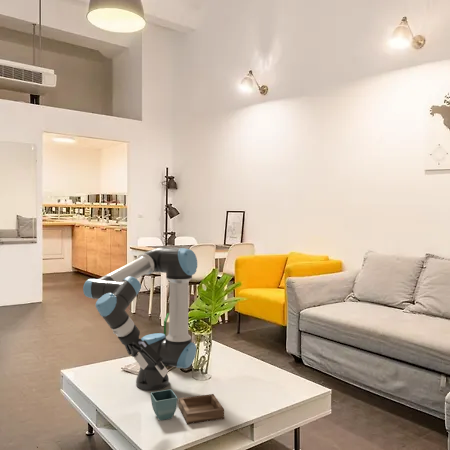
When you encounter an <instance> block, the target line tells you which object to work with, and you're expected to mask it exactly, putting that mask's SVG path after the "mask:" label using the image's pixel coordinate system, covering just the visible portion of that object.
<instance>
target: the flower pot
mask: <svg viewBox="0 0 450 450" xmlns="http://www.w3.org/2000/svg"><path fill="white" fill-rule="evenodd" d="M150 400H151V406H152V410H153V413H154V414H155V416H156V418H157V419H158V421H164V420H169V419H172V418H173V417H174V415H175V413H176V410H177V404H178V396H177V395H176V394H175V392H174V391H173V389H165V390H164V389H163V390H158V391H151V392H150Z"/></svg>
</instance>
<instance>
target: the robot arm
mask: <svg viewBox="0 0 450 450" xmlns="http://www.w3.org/2000/svg"><path fill="white" fill-rule="evenodd" d="M197 269H198V259H197V256H196V253H195V252H194V251H193V250H192V249H190V248H184V247H167V246H161V247H156V248H153V249H150V250H148V251H145V252H143V253H141V254H139V255H138V256H137V258H136V259H135V260H133V261H130V262H129V263H127V264H125V265H123V266H120V267H119V268H117V269H115V270H114V271H111V272H110V273H107V274H105V275H103V276H102V277H100V278H88V279H87V280H86V281H85V282H84V284H83V288H82V291H83V295H84V296H85V297H86V298H89V299H93V300H96V302H95V304H94V305H95V308H96V310H97V312H98V313H99V315H100V316H101V317H102V319H103V320H104V321H105V322H106V324H107V325H108V326H109V327H110V329H111V331H112V334H113V335H116V337H117V339H118V340H119V341H120V342H121V344H122V345H123V346H124V347H125V349H126V352H127V354H128V355H129V356H131V357H132V358H134V360H135V361H136V363H137V364H138V365H139V370H138V373H137V376H136V380H135V386H136V387H137V388H139V389H140V390H145V391H156V390H158V391H159V390H163V389H164V388H167V387H168V385H169V383H170V382H169V381H170V380H169V379H170V378H169V375H168V374H169V371H168V369H167V366H168V367H174V368H177V369H188V368H190V367H191V366H192V364H193V362H194V360H195V358H196V354H197V345H196V344H195V342H192V336H191V335H190V333H189V295H190V294H189V293H190V292H189V289H190V288H189V282H190V281H191V280H192V279H193V275H195V274H196V272H197ZM152 273H162V274H163V273H164V274H165V275H166V276H165V278H166V280H168V282H169V297H168V298H169V305H168V309H169V312H168V313H169V334H168V335H167V336H165V334H164V332H163V333H162V332H159V333H158V332H157V333H150V334H146V335H144V336H141V338H140V335H141V332H140V330H139V328H138V327H137V325H136V324H135V322H134V321H133V319H132V318H131V317H130V315H129V314H128V313H127V311H126V310H127V309H128V308H129V306H131V305H130V304H132V302H134V300H135V298H136V297H137V296H138V294H139V293H140V291H141V288H142V285H141V282H140V281H139V278H141V277H143V276H144V275H147V276H148V275H151V274H152ZM165 365H166V366H165Z"/></svg>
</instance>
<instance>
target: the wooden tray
mask: <svg viewBox="0 0 450 450" xmlns="http://www.w3.org/2000/svg"><path fill="white" fill-rule="evenodd" d="M178 409H179V412H180V414H181V415H182V417H183V419H184V421H185V424H186V425H193V424H200V423H201V424H202V423H207V422H214V421H222V420H225V408H224V407H223V405H222V404H221V403H220V401H219V400H218V398H217V397H216V396H215V393H210V394H209V393H208V394H203V395H194V396H192V395H191V396H185V397H179V398H178Z"/></svg>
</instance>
